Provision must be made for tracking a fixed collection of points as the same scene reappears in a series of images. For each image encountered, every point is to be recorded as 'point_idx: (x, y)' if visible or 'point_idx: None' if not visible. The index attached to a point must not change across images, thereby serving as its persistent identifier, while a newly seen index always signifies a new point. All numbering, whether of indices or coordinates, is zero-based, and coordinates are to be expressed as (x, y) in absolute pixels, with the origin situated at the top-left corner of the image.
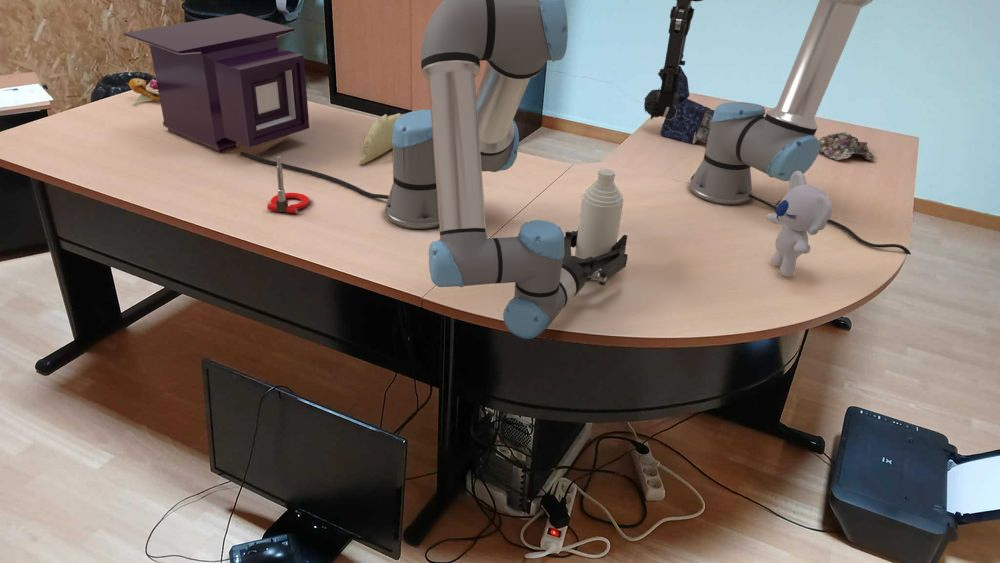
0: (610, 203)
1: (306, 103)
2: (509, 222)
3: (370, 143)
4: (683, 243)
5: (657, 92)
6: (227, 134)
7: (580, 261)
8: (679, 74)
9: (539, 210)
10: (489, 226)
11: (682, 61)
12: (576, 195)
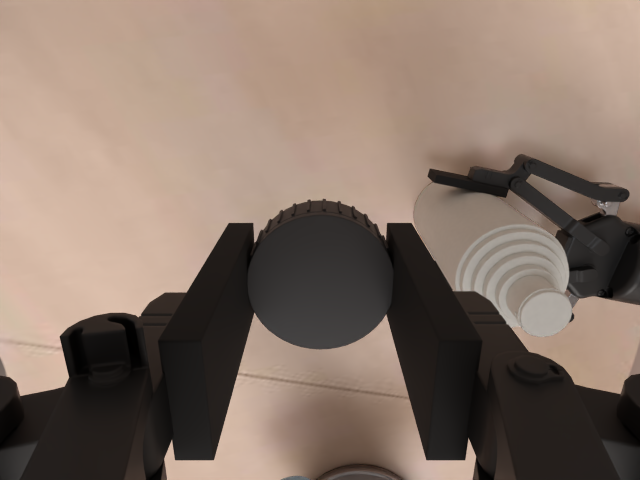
0: (564, 255)
1: None
2: (323, 384)
3: None
4: (257, 39)
5: (316, 348)
6: None
7: (602, 249)
8: (196, 299)
9: (250, 350)
10: (353, 408)
11: (88, 362)
12: (143, 302)
